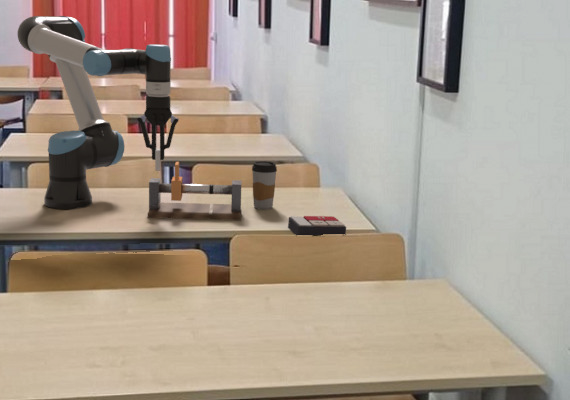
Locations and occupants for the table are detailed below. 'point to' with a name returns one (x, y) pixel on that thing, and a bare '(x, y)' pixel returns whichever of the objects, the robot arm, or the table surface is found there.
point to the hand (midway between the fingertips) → (158, 169)
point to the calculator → (316, 225)
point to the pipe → (195, 192)
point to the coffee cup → (263, 184)
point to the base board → (195, 211)
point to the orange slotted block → (176, 185)
